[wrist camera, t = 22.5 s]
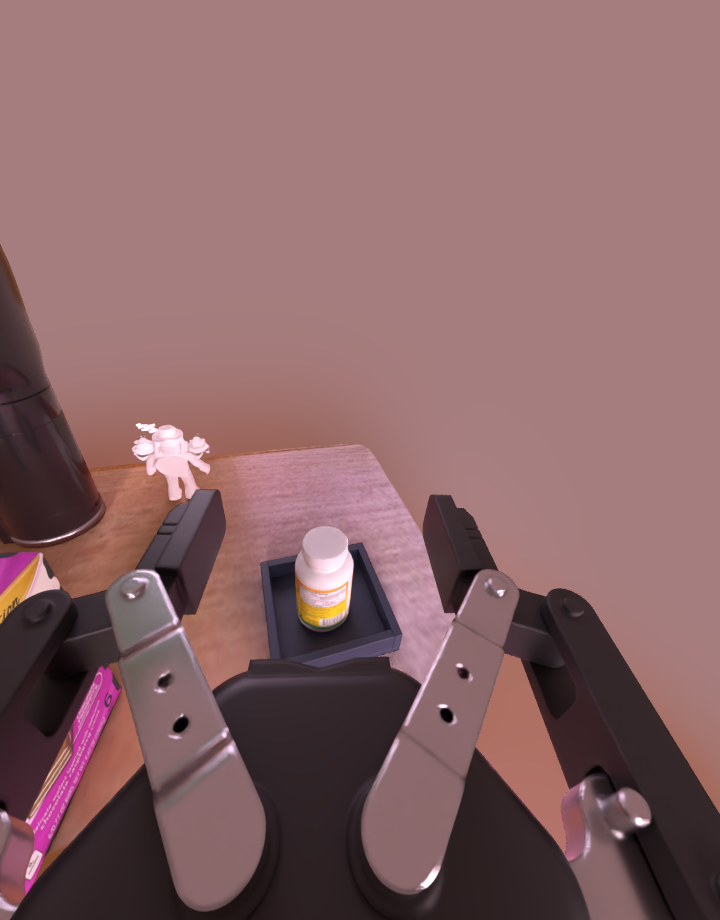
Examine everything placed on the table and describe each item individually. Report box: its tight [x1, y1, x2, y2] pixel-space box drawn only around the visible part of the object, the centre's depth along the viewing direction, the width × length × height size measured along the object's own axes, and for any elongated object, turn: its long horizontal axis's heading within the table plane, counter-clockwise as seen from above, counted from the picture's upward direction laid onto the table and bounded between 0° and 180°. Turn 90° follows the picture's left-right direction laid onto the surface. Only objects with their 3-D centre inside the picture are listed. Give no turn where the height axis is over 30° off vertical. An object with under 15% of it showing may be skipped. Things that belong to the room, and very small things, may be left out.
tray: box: [260, 543, 402, 668], centre depth 35 cm, size 12×12×3 cm
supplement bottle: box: [295, 526, 353, 632], centre depth 32 cm, size 5×5×10 cm
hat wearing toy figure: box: [132, 423, 210, 500], centre depth 46 cm, size 9×4×12 cm, turn 100°
